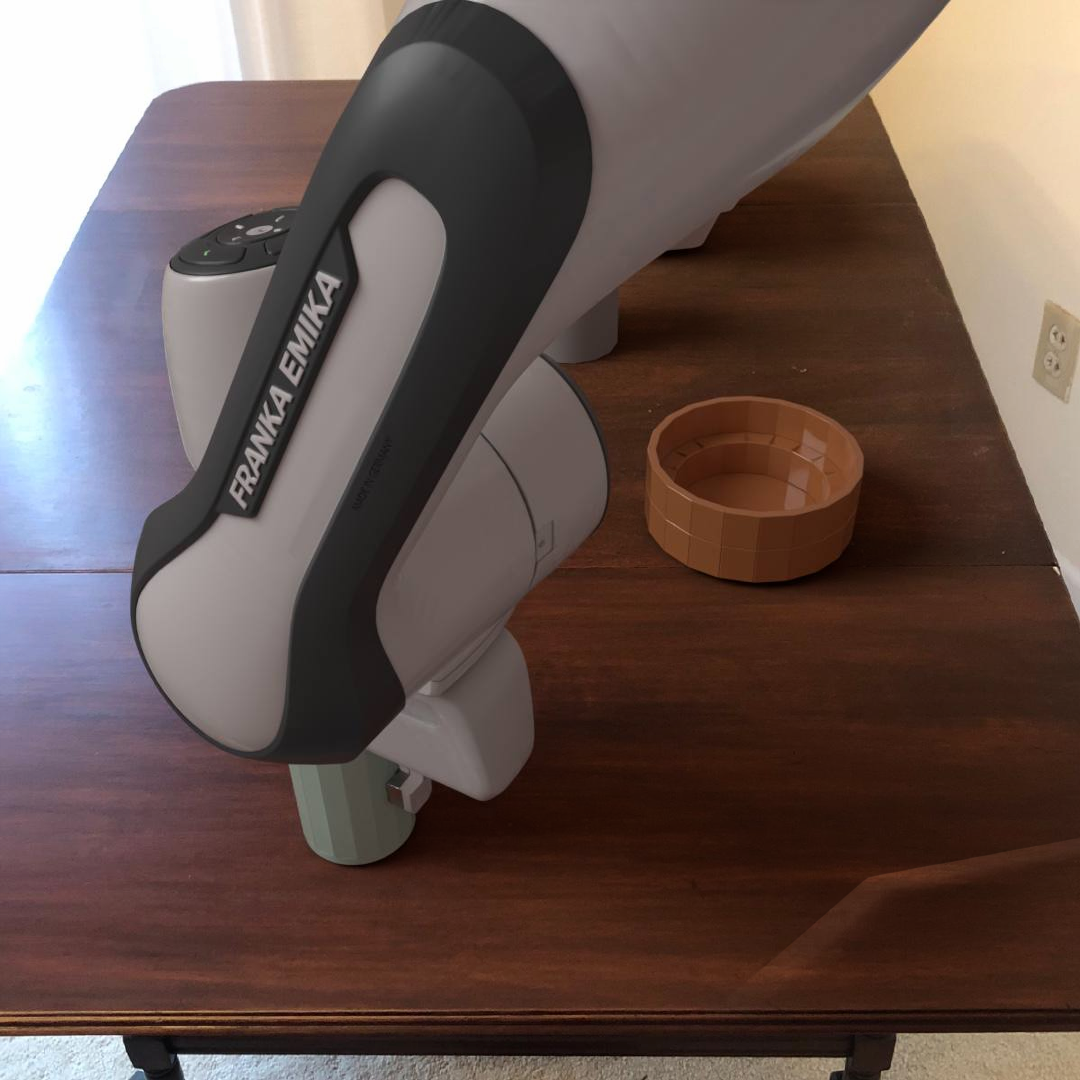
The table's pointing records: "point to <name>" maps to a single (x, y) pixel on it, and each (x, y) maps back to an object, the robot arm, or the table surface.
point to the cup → (589, 334)
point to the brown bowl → (752, 488)
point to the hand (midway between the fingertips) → (352, 773)
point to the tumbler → (350, 809)
